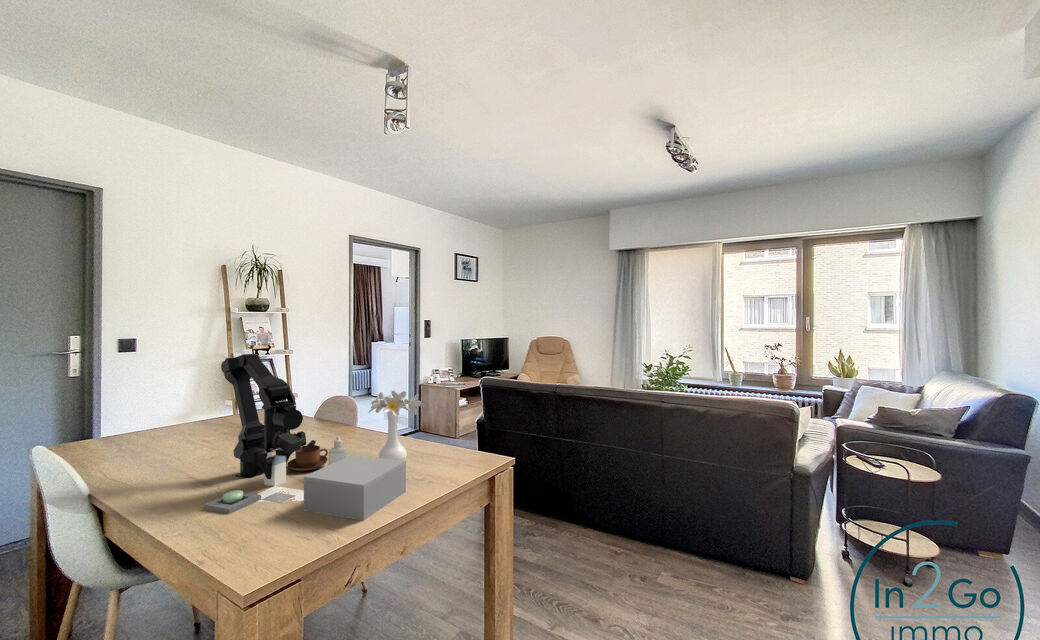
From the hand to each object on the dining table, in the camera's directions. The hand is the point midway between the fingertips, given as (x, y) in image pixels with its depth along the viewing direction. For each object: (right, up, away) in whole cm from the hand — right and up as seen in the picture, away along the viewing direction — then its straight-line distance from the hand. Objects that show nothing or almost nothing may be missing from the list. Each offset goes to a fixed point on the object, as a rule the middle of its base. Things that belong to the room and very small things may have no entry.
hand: (275, 476), depth 128 cm
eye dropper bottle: (+15, -2, +9) cm, 18 cm away
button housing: (-3, -2, -15) cm, 15 cm away
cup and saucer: (+3, -2, +14) cm, 14 cm away
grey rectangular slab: (+30, -2, -13) cm, 32 cm away
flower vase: (+31, -2, +17) cm, 35 cm away
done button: (-3, -1, -15) cm, 15 cm away
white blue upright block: (0, -2, 0) cm, 2 cm away
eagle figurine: (0, -2, +17) cm, 17 cm away
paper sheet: (+7, -2, -11) cm, 13 cm away
